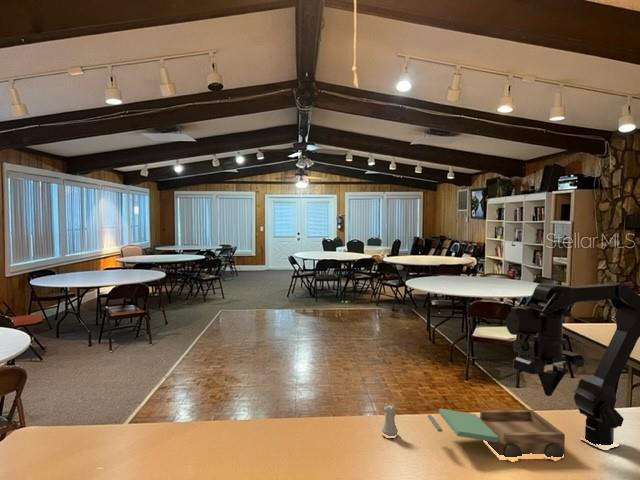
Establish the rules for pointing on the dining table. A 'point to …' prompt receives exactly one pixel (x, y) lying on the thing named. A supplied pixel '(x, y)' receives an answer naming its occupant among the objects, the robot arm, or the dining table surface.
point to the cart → (523, 433)
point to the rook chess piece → (389, 421)
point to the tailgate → (465, 425)
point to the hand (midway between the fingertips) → (548, 395)
